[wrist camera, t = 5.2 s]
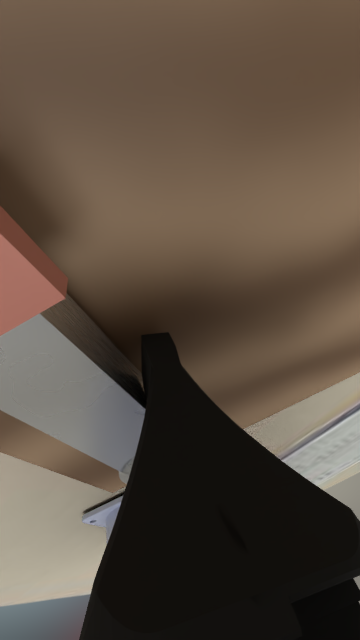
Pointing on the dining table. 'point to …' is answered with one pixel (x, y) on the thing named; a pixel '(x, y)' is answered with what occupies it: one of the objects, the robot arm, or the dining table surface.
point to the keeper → (25, 276)
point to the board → (191, 188)
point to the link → (73, 385)
